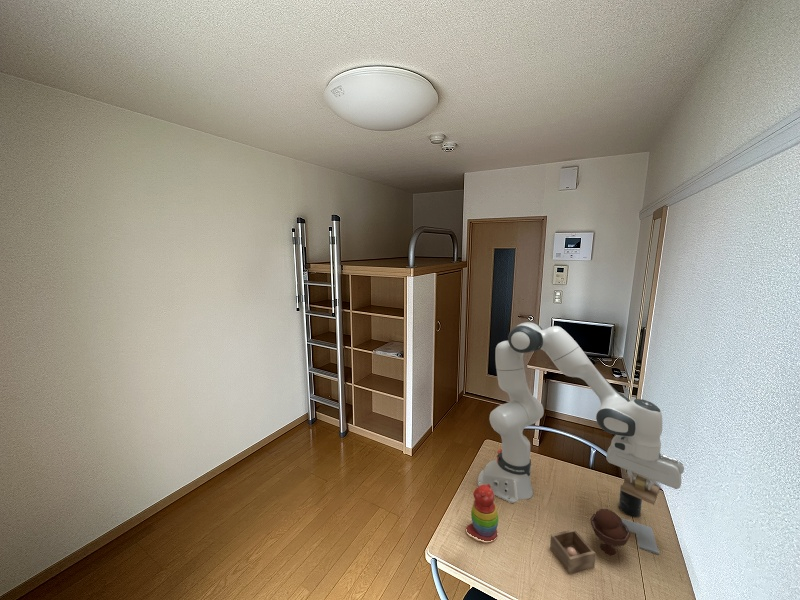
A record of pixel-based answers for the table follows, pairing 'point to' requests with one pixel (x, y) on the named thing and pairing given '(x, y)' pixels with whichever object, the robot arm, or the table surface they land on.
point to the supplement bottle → (629, 504)
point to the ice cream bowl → (609, 530)
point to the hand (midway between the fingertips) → (640, 485)
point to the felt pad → (643, 536)
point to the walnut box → (574, 540)
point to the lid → (640, 489)
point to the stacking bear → (483, 514)
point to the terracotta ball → (571, 551)
